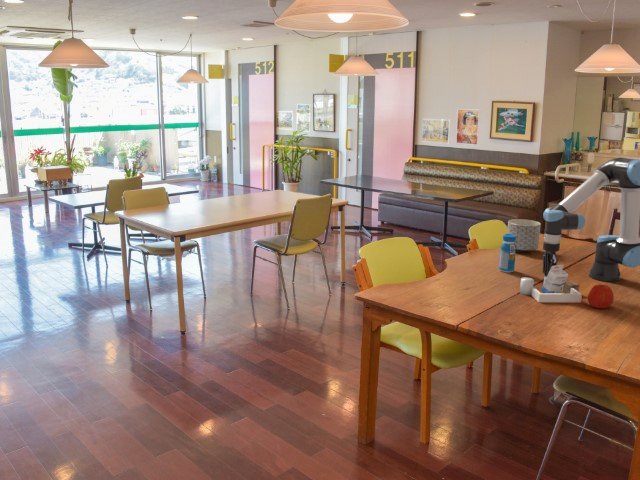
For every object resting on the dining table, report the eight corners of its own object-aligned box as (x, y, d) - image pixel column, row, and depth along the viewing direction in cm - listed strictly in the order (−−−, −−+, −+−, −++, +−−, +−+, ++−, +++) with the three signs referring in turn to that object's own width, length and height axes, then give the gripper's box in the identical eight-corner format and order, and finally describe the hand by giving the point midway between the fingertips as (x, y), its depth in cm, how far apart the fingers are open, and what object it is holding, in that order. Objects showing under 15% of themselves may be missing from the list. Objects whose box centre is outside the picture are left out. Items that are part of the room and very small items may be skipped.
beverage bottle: (497, 271, 332) (500, 236, 327) (499, 267, 339) (502, 232, 334) (513, 273, 329) (517, 237, 324) (515, 269, 336) (518, 234, 331)
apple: (610, 312, 272) (613, 289, 270) (584, 307, 278) (587, 285, 275) (613, 305, 281) (616, 283, 279) (588, 301, 287) (591, 279, 284)
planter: (500, 247, 385) (503, 219, 380) (529, 247, 387) (532, 219, 382) (513, 255, 366) (516, 225, 362) (543, 254, 368) (546, 225, 364)
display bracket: (572, 296, 293) (573, 288, 292) (580, 302, 284) (581, 294, 283) (531, 295, 293) (532, 287, 292) (538, 302, 284) (539, 294, 283)
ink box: (547, 296, 292) (558, 271, 285) (540, 290, 296) (551, 265, 288) (560, 294, 296) (571, 269, 288) (553, 288, 299) (564, 263, 292)
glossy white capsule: (529, 291, 300) (531, 277, 298) (534, 295, 294) (535, 281, 292) (517, 290, 300) (519, 277, 298) (522, 294, 294) (523, 281, 292)
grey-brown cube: (571, 291, 301) (572, 281, 300) (578, 294, 296) (579, 284, 295) (562, 292, 299) (563, 282, 298) (569, 295, 295) (570, 285, 293)
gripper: (539, 238, 299) (534, 284, 305) (549, 245, 287) (543, 292, 293) (554, 239, 300) (548, 284, 305) (565, 245, 287) (559, 293, 293)
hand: (546, 288), depth 299 cm, fingers closed
